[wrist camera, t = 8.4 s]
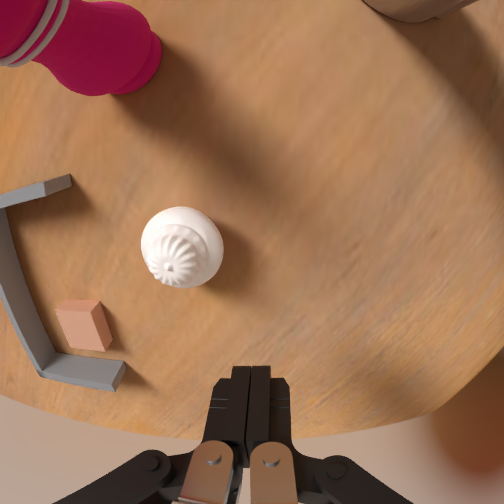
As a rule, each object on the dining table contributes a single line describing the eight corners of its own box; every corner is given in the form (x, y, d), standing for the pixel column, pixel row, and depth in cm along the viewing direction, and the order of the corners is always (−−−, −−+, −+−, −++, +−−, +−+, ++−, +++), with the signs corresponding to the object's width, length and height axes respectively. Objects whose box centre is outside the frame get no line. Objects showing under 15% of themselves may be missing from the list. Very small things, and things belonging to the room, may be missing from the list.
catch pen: (69, 173, 22) (43, 181, 19) (126, 368, 31) (115, 391, 27) (-4, 195, 23) (-27, 205, 19) (53, 358, 31) (40, 376, 28)
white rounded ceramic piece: (162, 189, 23) (126, 211, 16) (236, 205, 23) (225, 234, 17) (153, 258, 25) (121, 298, 19) (220, 274, 26) (207, 321, 19)
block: (101, 299, 27) (90, 312, 25) (114, 337, 29) (105, 351, 27) (66, 298, 28) (54, 309, 25) (79, 334, 30) (70, 347, 27)
